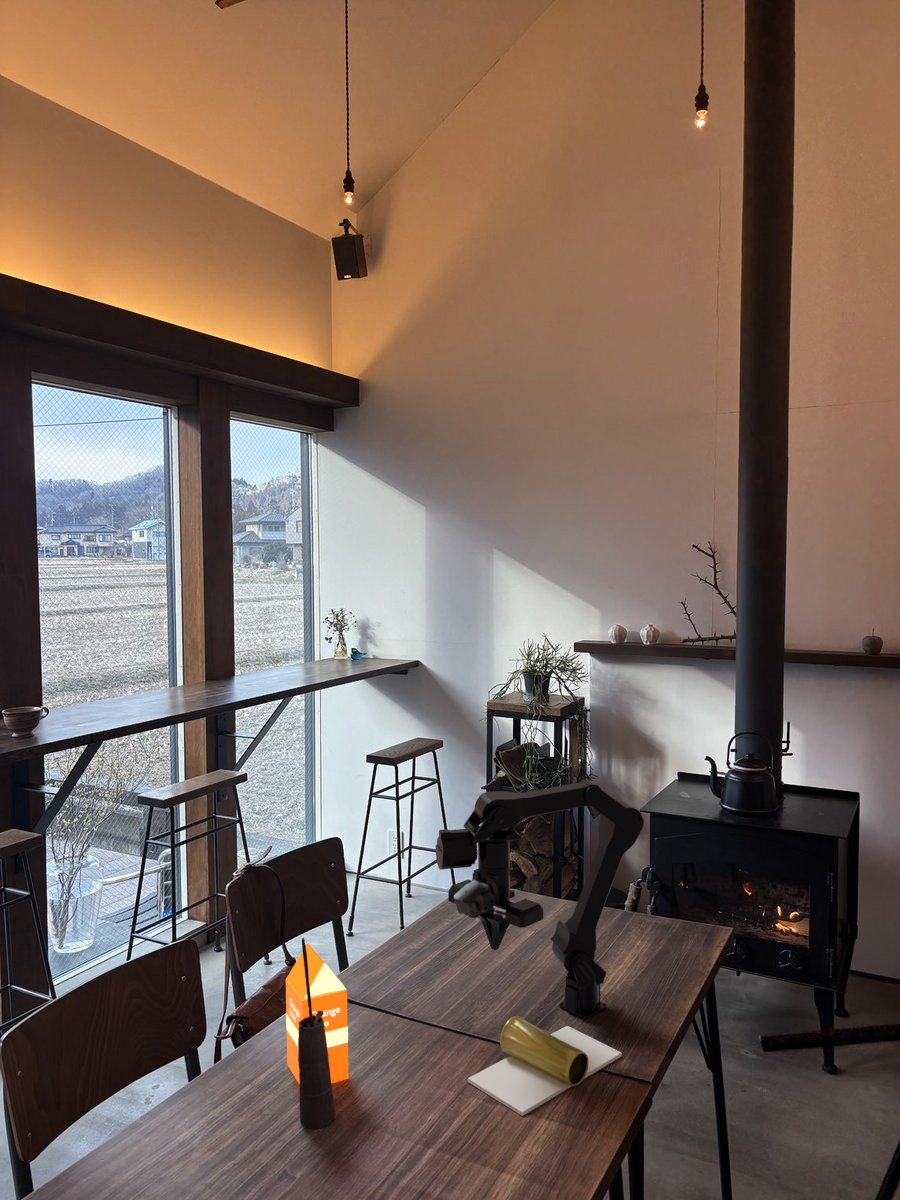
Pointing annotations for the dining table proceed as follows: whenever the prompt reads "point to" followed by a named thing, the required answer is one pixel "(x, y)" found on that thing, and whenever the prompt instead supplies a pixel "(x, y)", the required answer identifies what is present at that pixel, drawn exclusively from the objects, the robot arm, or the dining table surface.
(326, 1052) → the butter churn
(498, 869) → the robot arm
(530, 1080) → the mat
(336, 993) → the orange juice
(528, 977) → the dining table surface
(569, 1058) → the vase
